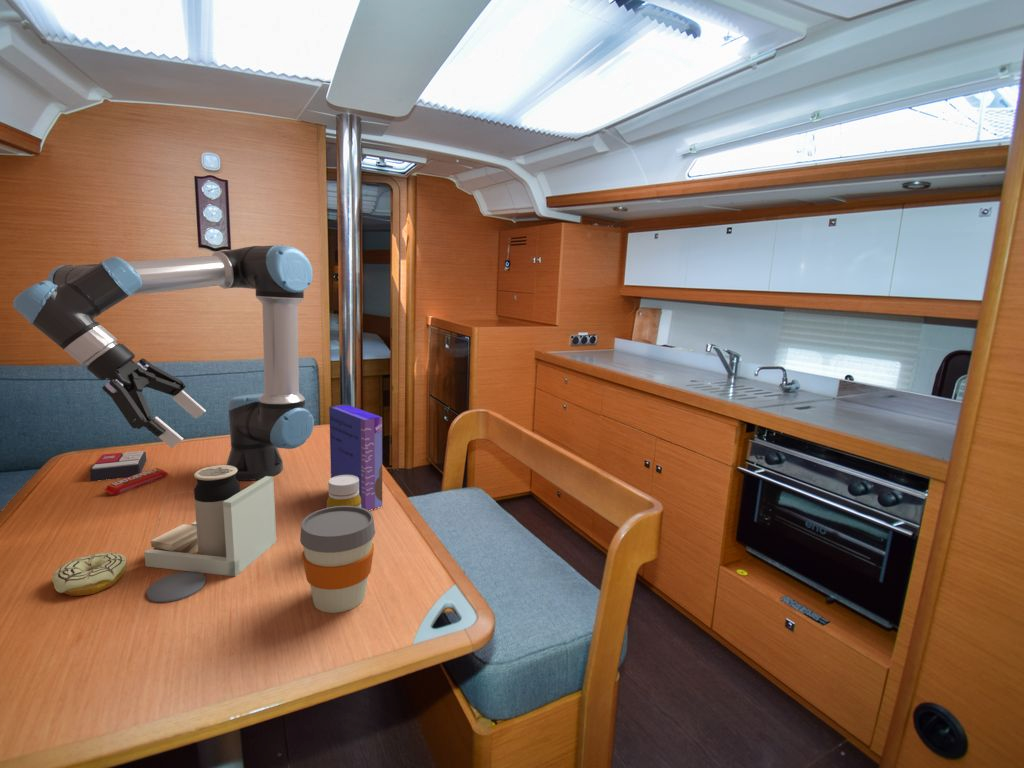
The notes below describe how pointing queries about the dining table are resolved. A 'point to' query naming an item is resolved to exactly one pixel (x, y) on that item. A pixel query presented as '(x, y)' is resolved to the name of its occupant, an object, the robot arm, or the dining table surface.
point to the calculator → (118, 465)
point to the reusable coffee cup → (338, 556)
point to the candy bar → (135, 481)
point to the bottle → (344, 491)
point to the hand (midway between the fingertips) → (190, 428)
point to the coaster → (176, 587)
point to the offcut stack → (178, 540)
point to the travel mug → (213, 507)
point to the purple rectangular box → (357, 450)
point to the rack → (231, 535)
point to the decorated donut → (89, 574)
